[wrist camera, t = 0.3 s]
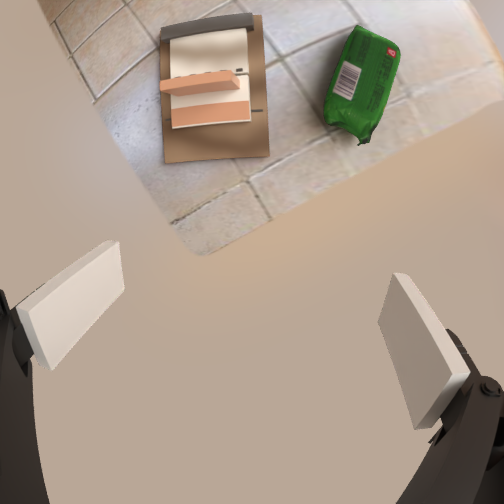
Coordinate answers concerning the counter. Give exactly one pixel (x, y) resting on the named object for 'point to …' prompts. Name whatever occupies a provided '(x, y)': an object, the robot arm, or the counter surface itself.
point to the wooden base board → (212, 60)
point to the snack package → (361, 83)
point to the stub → (208, 99)
